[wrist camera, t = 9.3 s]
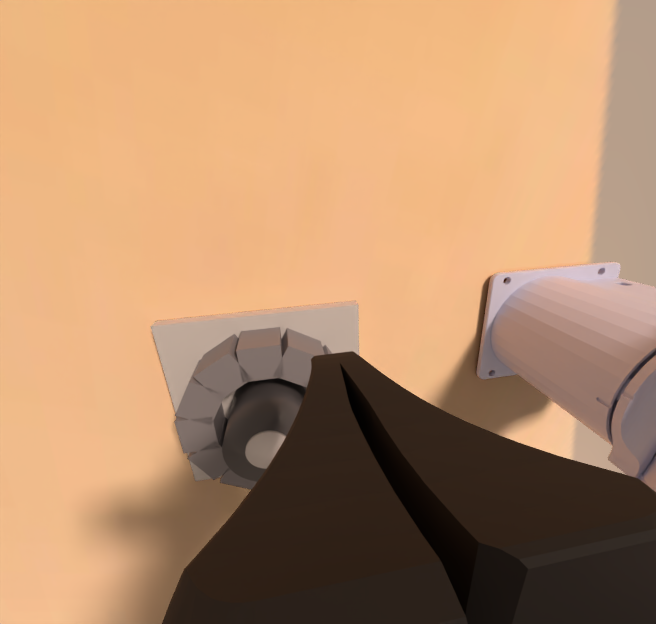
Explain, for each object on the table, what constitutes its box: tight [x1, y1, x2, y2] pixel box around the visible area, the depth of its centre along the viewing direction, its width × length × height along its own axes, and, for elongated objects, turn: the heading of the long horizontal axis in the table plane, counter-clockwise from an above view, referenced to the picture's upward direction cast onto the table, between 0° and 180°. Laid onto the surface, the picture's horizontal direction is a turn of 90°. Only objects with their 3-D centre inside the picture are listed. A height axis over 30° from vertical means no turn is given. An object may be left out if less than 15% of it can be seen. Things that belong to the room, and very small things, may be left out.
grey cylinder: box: [222, 378, 305, 482], centre depth 18 cm, size 5×5×4 cm
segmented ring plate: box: [151, 301, 359, 490], centre depth 20 cm, size 12×12×3 cm
